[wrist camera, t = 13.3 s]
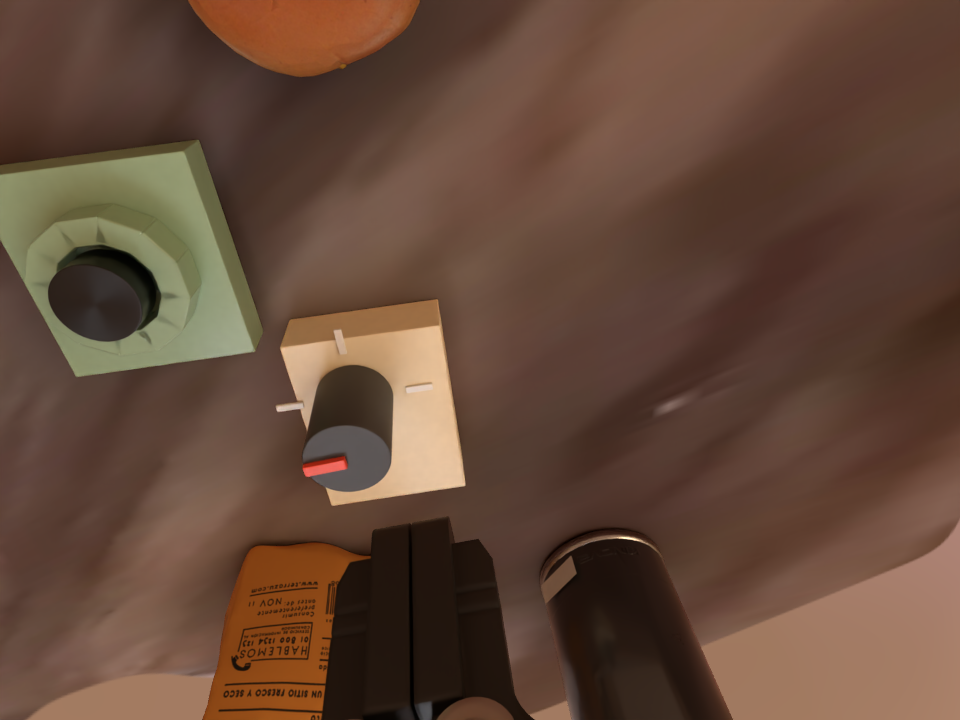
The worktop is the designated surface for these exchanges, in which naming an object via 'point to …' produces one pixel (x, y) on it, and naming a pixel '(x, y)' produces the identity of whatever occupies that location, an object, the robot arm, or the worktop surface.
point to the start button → (102, 295)
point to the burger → (305, 30)
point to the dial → (350, 430)
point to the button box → (133, 249)
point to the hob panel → (411, 374)
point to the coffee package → (278, 634)
